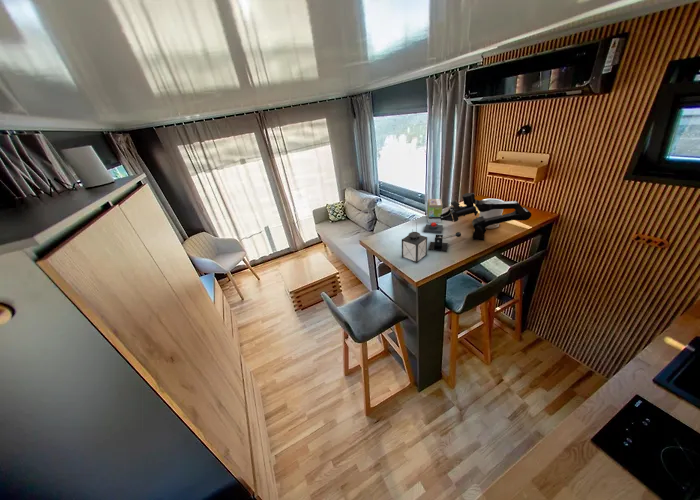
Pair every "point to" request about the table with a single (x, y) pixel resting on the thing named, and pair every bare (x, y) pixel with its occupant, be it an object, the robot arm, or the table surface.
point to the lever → (451, 235)
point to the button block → (433, 228)
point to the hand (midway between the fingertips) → (440, 217)
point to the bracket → (438, 244)
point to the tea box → (434, 210)
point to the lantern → (414, 246)
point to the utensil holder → (492, 212)
